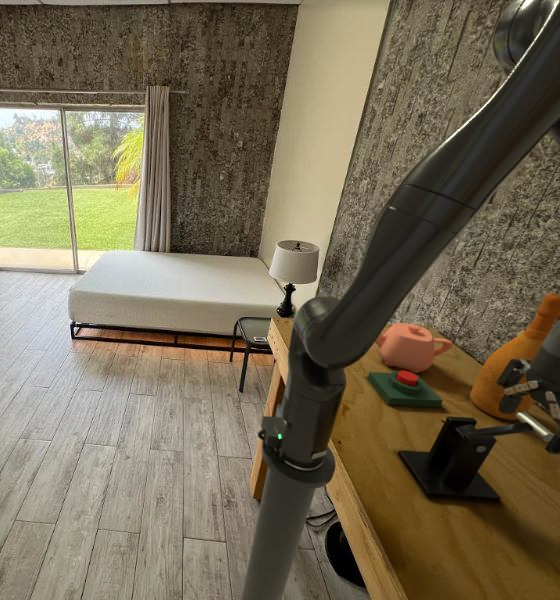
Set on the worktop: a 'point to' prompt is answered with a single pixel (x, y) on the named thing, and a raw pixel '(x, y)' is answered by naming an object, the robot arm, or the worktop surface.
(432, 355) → the teapot
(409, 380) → the button
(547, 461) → the worktop surface
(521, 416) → the lever
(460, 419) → the bracket
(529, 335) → the wine bottle
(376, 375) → the button block
